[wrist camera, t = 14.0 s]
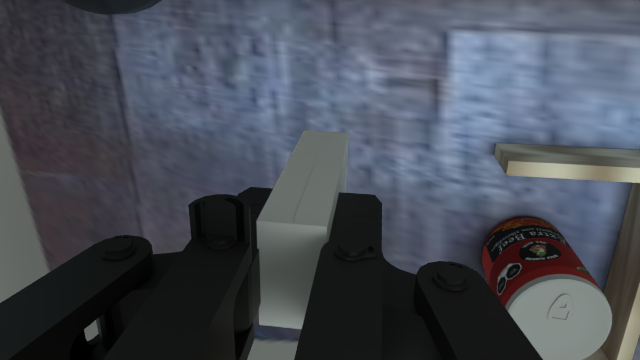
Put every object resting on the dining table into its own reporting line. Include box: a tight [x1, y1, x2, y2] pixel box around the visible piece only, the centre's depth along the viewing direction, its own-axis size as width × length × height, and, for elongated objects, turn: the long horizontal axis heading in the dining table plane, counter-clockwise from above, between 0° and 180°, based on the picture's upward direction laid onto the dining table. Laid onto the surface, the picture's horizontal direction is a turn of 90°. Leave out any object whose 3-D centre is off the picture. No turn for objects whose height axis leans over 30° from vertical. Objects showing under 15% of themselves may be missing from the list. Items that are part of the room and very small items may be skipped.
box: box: [494, 143, 640, 360], centre depth 43 cm, size 13×20×5 cm, turn 179°
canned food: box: [482, 217, 612, 360], centre depth 41 cm, size 8×8×11 cm
